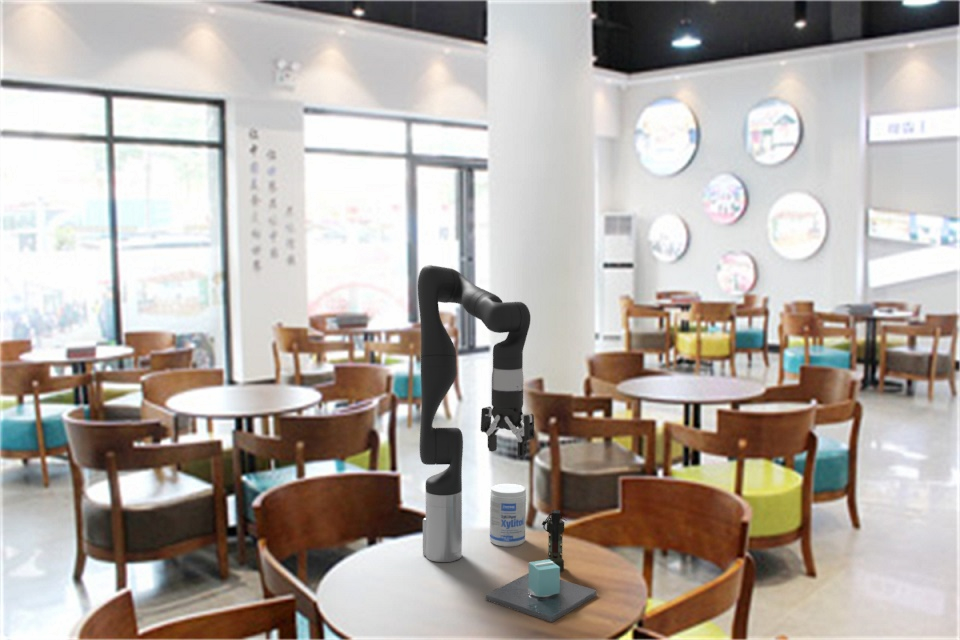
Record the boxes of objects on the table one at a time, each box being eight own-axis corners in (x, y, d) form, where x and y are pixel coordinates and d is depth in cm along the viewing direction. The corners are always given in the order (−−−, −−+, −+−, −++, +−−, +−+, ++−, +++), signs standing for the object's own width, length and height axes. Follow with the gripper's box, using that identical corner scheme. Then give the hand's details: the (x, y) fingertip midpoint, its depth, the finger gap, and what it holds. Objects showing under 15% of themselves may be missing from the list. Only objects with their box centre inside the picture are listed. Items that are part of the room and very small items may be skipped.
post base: (485, 599, 195) (485, 572, 195) (532, 575, 209) (532, 550, 208) (551, 622, 184) (552, 593, 183) (596, 595, 198) (597, 568, 197)
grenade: (565, 576, 209) (566, 515, 207) (540, 575, 209) (541, 514, 208) (565, 566, 215) (566, 507, 214) (541, 565, 216) (542, 506, 215)
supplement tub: (503, 550, 226) (504, 495, 225) (482, 540, 234) (482, 486, 232) (532, 543, 232) (533, 489, 230) (511, 533, 239) (511, 481, 238)
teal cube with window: (538, 596, 193) (538, 568, 192) (528, 587, 197) (528, 560, 197) (559, 593, 194) (559, 565, 194) (549, 584, 199) (549, 557, 199)
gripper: (474, 385, 206) (473, 452, 208) (522, 392, 197) (521, 462, 199) (493, 381, 212) (493, 446, 214) (541, 387, 203) (540, 455, 205)
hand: (506, 453), depth 206 cm, fingers open, 8 cm apart
